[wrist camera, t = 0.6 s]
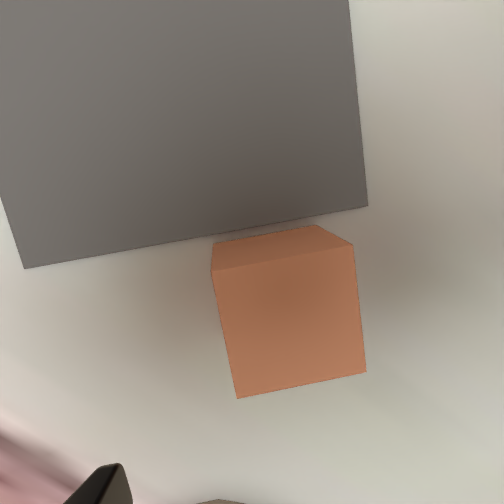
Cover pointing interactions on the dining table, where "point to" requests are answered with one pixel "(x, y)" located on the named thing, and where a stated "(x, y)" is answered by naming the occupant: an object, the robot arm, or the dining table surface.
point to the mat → (172, 120)
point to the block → (288, 309)
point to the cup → (220, 502)
